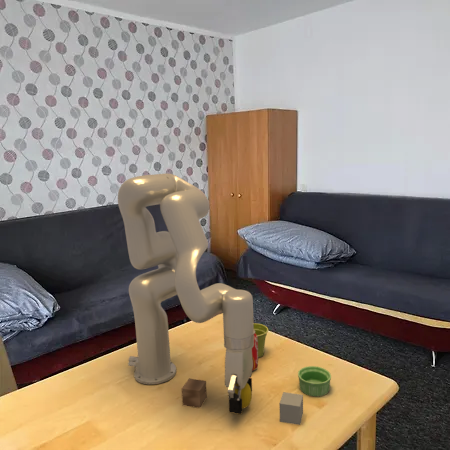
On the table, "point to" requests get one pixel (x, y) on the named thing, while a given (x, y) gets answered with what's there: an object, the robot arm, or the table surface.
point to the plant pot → (260, 337)
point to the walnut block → (194, 393)
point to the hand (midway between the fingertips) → (241, 401)
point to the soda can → (255, 353)
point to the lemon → (245, 395)
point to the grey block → (291, 408)
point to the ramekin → (314, 380)
